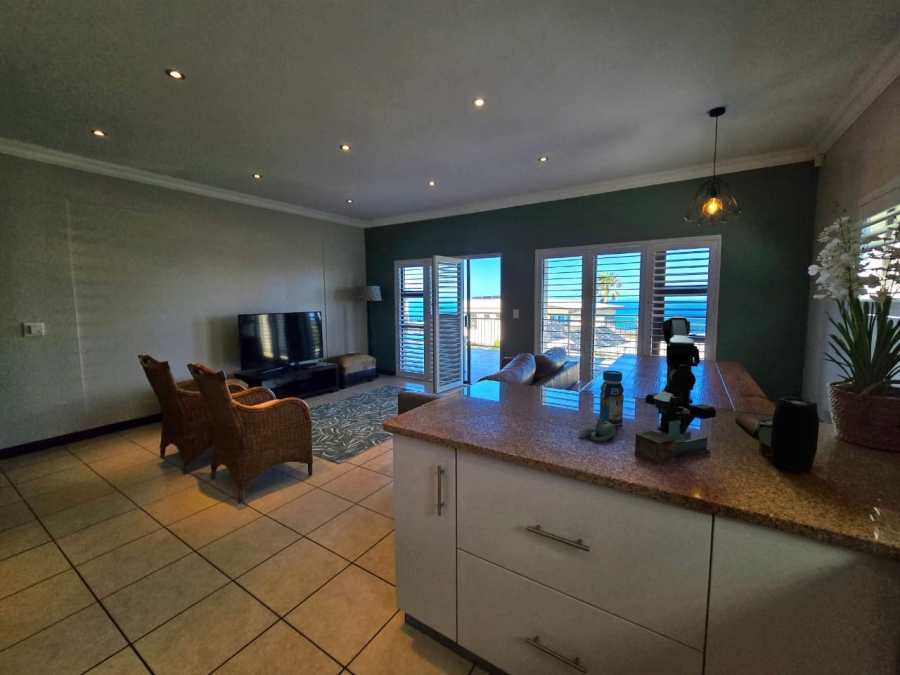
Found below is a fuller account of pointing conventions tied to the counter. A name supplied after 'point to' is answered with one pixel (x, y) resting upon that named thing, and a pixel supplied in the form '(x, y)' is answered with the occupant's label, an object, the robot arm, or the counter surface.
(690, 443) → the sleeve channel
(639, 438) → the socket block
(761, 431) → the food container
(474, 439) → the counter surface
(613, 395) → the beverage bottle
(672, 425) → the teal angled piece
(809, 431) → the portable speaker
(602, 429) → the stuffed animal
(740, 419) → the sunglasses case
